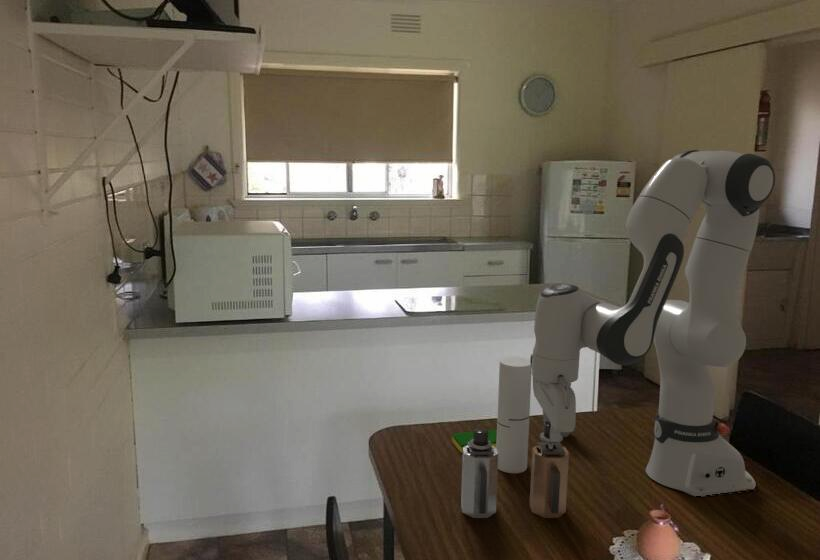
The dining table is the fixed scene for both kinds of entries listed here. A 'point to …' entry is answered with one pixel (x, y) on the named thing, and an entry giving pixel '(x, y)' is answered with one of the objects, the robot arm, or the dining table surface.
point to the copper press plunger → (545, 435)
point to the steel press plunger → (480, 440)
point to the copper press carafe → (549, 480)
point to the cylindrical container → (513, 414)
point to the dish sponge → (463, 439)
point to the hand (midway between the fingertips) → (551, 435)
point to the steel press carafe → (479, 482)
